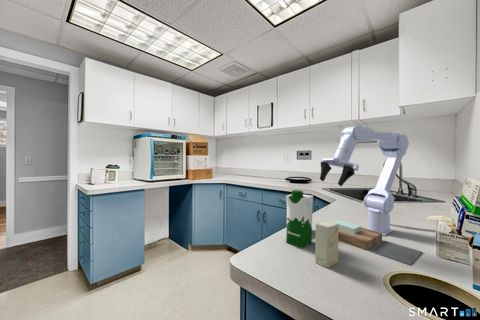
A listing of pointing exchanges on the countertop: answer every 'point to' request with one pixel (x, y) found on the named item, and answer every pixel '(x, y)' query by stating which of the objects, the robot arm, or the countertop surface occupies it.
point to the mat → (397, 252)
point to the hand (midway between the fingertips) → (330, 182)
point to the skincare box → (326, 243)
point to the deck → (360, 238)
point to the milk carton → (299, 219)
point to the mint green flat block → (348, 226)
